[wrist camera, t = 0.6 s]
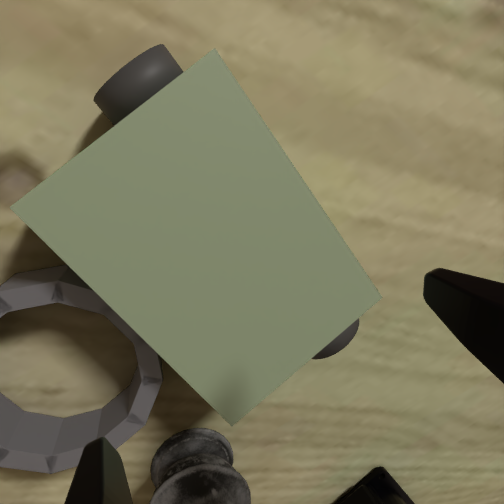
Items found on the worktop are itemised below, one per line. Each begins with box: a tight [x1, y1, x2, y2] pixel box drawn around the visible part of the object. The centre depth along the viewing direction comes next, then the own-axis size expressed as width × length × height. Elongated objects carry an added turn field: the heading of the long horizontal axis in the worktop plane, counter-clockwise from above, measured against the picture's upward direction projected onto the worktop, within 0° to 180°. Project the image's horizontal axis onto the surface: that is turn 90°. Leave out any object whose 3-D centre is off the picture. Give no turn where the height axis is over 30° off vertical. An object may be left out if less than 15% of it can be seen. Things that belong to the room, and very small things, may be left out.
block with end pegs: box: [0, 44, 382, 474], centre depth 19 cm, size 17×20×5 cm
